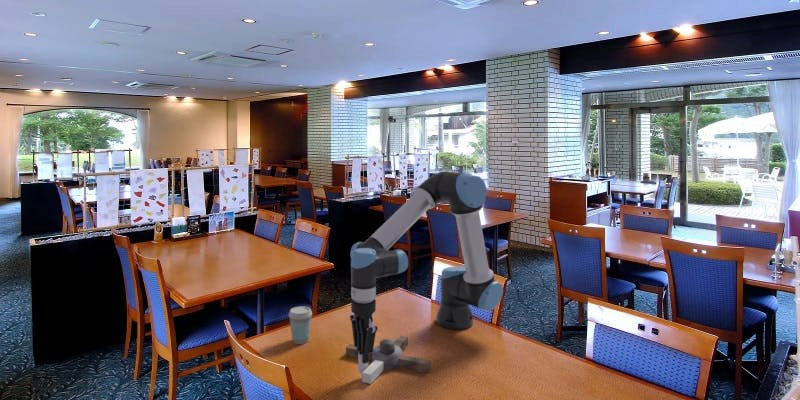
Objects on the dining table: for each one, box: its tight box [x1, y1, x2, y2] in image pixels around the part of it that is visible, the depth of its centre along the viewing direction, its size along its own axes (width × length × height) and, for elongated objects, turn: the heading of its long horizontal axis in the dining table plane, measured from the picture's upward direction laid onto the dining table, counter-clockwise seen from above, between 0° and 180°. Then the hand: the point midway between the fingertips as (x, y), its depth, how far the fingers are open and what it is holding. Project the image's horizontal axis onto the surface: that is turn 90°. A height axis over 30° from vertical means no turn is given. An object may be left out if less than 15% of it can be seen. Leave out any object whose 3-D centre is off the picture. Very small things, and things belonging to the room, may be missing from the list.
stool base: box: [345, 335, 432, 374], centre depth 151 cm, size 23×23×7 cm
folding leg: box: [361, 360, 384, 385], centre depth 142 cm, size 9×3×3 cm, turn 157°
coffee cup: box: [288, 305, 313, 345], centre depth 166 cm, size 8×8×12 cm
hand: (363, 371), depth 141 cm, fingers closed
